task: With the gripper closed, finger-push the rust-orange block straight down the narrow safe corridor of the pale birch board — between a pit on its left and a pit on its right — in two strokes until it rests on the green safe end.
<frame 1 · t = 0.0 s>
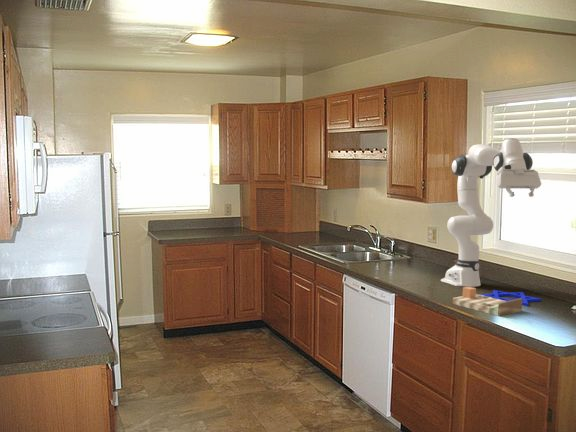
hand: (521, 196, 289), 54 cm above the counter, tool tilted 30°, fingers open, 8 cm apart
block: (468, 296, 308), point 3 cm above the counter, touching board
board: (485, 307, 300), on the counter
symbol: (509, 300, 317), on the counter
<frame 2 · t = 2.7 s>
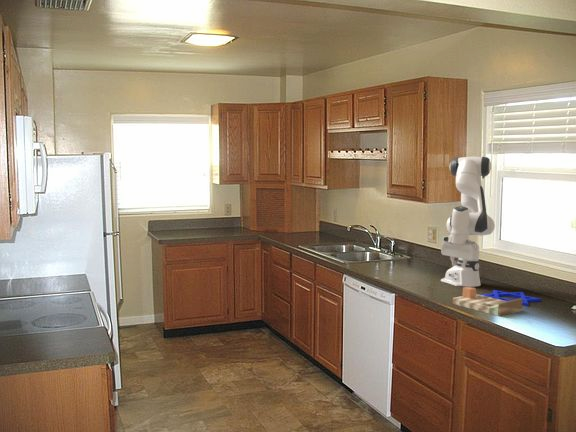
hand: (458, 266, 312), 17 cm above the counter, tool pointing down, fingers open, 4 cm apart
nothing on the counter moved.
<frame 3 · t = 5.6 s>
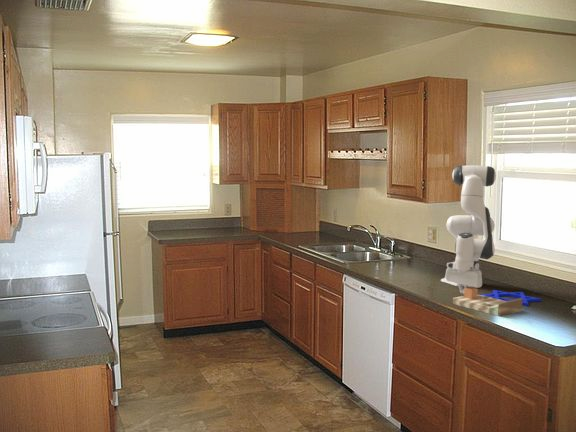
hand: (463, 293, 310), 4 cm above the counter, tool pointing down, fingers closed
block: (470, 297, 307), point 3 cm above the counter, touching gripper
everything else where it was.
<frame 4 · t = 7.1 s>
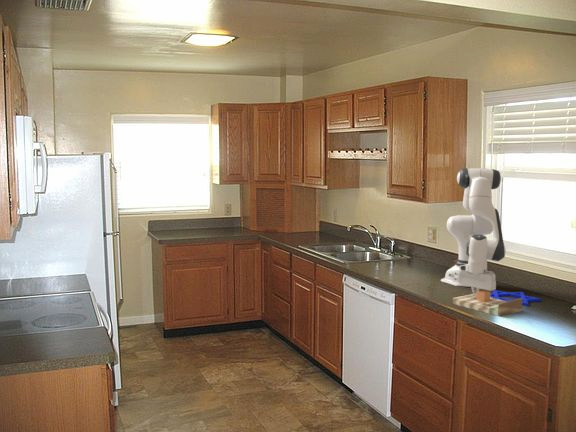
hand: (476, 296, 304), 4 cm above the counter, tool pointing down, fingers closed
block: (483, 300, 301), point 3 cm above the counter, touching board, gripper
everything else where it was.
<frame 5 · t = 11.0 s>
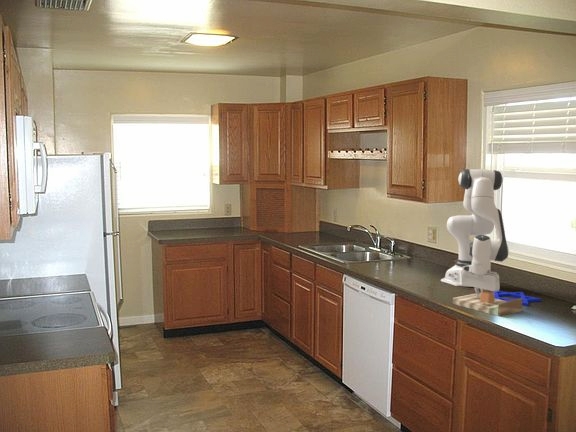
hand: (479, 297, 302), 4 cm above the counter, tool pointing down, fingers closed
block: (487, 301, 299), point 3 cm above the counter, touching board, gripper
everything else where it was.
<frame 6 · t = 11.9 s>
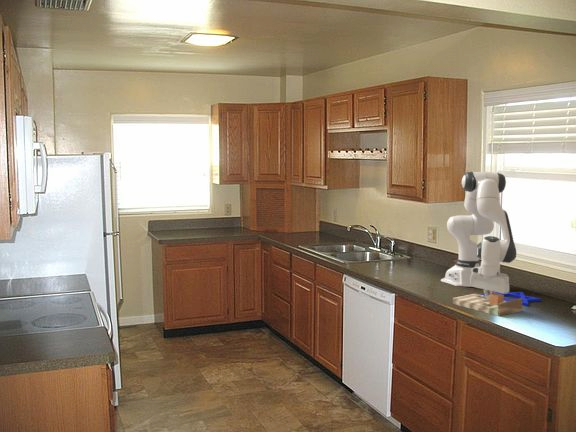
hand: (488, 299, 298), 4 cm above the counter, tool pointing down, fingers closed
block: (496, 303, 295), point 3 cm above the counter, touching board, gripper
everything else where it was.
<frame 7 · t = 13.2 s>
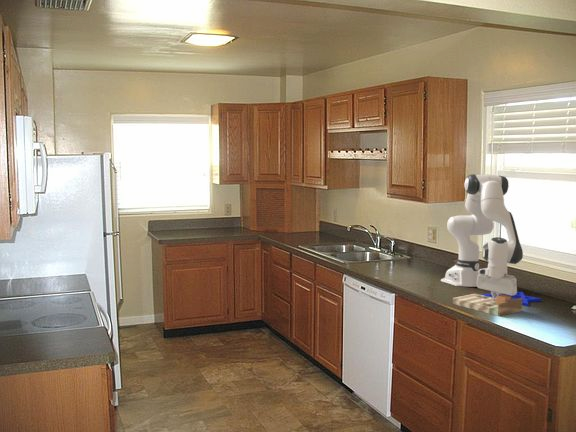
hand: (495, 301, 295), 4 cm above the counter, tool pointing down, fingers closed
block: (503, 305, 292), point 3 cm above the counter, touching board, gripper
everything else where it was.
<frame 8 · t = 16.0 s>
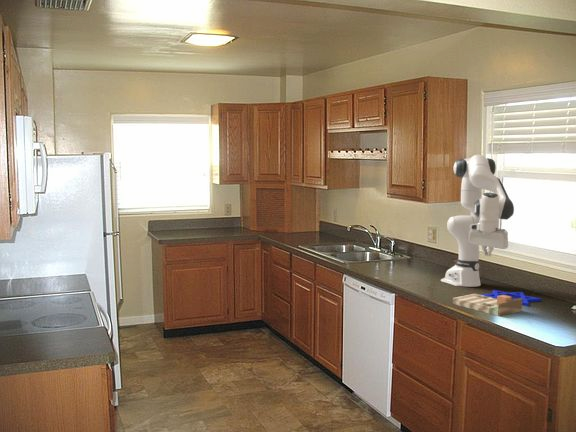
hand: (487, 255, 298), 25 cm above the counter, tool pointing down, fingers closed
block: (503, 305, 291), point 3 cm above the counter, touching board
everything else where it was.
at the end: block 0.4 cm from the target spot on the board, point 3.0 cm above the board's base; block tilted 0° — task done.
